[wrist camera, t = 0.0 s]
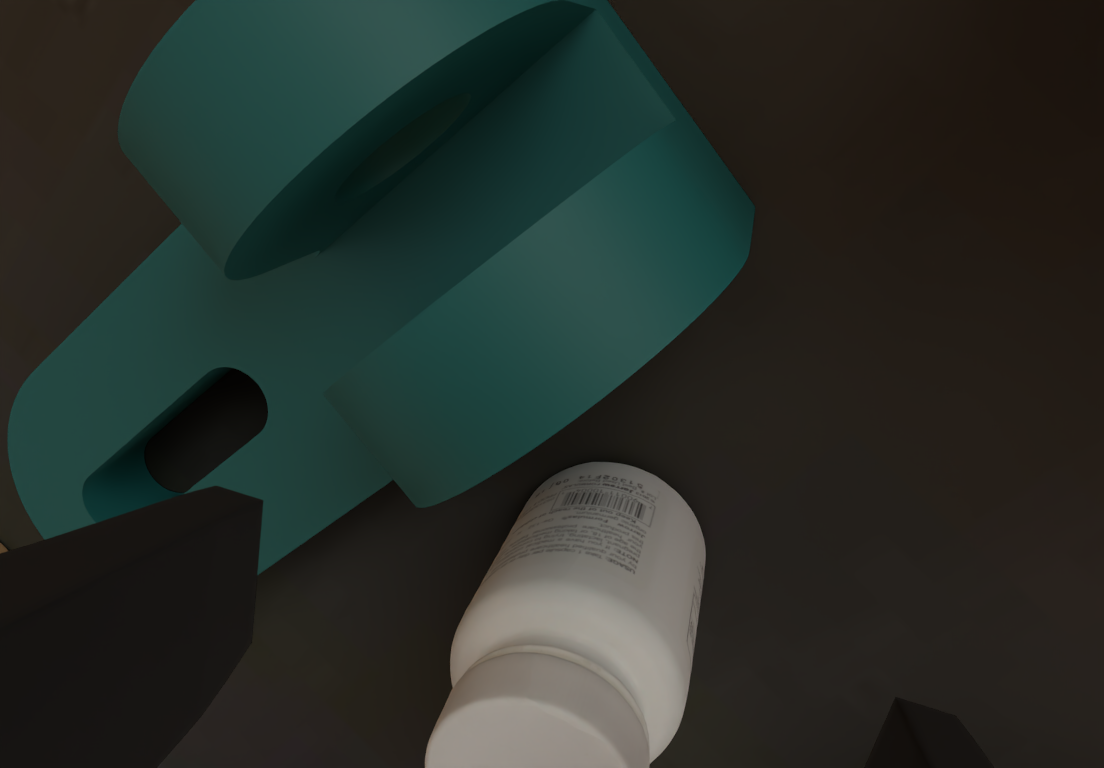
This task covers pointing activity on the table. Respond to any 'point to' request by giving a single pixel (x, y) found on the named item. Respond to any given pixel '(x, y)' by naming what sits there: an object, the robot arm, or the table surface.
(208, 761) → the table surface
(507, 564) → the pill bottle
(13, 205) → the table surface
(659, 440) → the table surface
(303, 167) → the bracket
